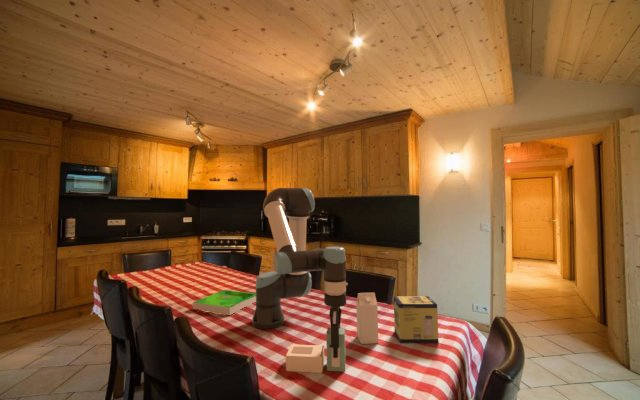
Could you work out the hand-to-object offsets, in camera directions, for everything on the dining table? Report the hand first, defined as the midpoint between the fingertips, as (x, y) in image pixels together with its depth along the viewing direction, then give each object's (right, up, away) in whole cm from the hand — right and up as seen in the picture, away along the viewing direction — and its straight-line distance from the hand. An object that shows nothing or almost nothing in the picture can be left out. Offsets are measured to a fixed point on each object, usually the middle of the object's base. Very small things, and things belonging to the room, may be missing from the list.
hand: (336, 361), depth 96 cm
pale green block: (0, -2, 0) cm, 2 cm away
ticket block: (-10, -2, +1) cm, 11 cm away
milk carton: (+14, -3, +20) cm, 24 cm away
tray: (-58, -6, +64) cm, 87 cm away
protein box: (+34, -2, +21) cm, 40 cm away
